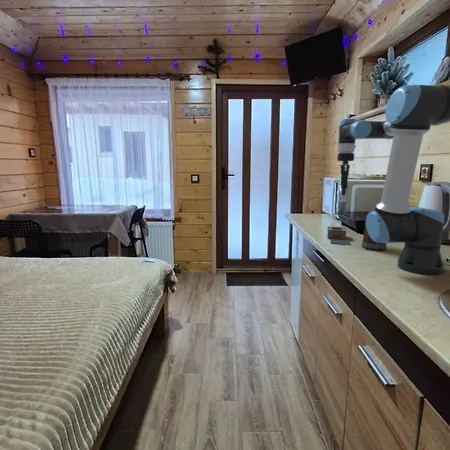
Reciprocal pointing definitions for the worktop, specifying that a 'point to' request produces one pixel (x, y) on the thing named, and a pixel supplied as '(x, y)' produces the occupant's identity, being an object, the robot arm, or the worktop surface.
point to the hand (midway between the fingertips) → (342, 201)
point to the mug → (371, 243)
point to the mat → (340, 241)
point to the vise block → (336, 233)
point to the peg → (342, 205)
